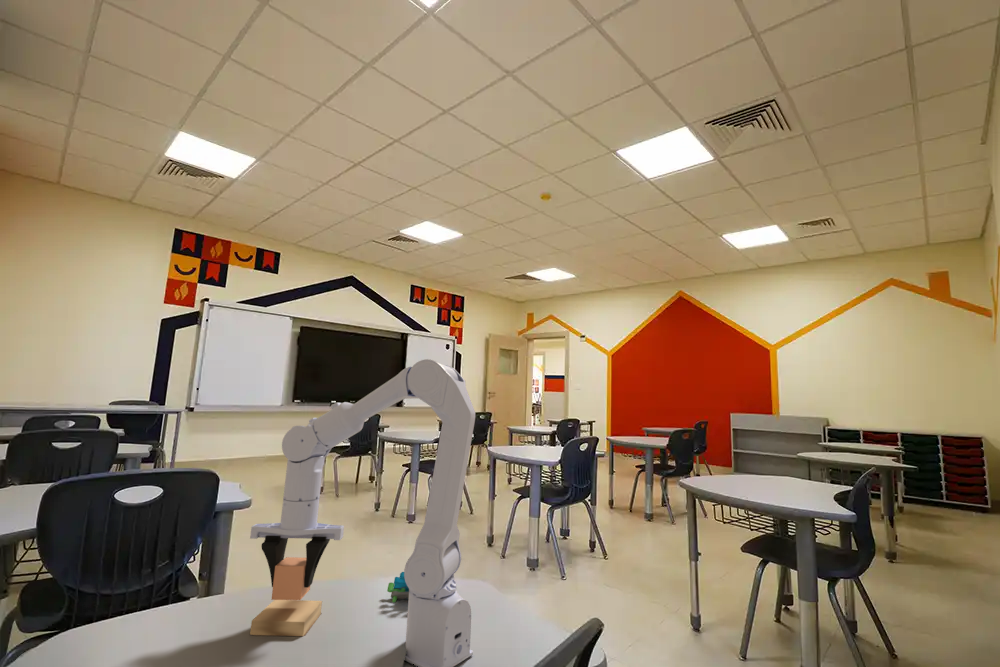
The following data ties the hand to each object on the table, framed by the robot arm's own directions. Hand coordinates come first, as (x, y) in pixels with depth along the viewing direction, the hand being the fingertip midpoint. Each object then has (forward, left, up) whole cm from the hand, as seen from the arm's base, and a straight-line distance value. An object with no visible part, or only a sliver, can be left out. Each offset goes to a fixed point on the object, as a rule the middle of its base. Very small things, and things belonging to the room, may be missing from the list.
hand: (292, 585), depth 75 cm
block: (0, 0, -1) cm, 1 cm away
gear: (-8, -21, -7) cm, 23 cm away
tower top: (0, 0, -6) cm, 6 cm away
